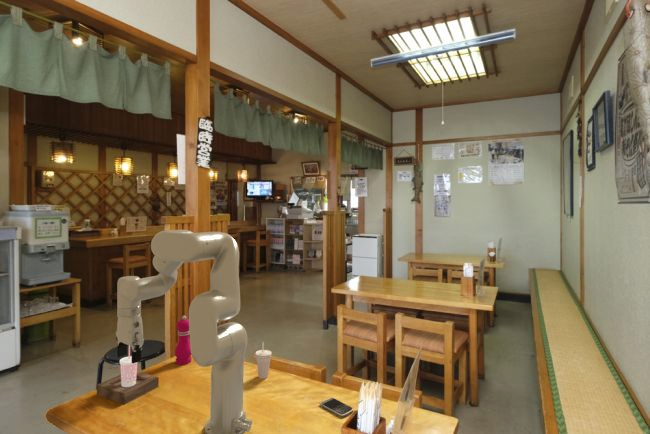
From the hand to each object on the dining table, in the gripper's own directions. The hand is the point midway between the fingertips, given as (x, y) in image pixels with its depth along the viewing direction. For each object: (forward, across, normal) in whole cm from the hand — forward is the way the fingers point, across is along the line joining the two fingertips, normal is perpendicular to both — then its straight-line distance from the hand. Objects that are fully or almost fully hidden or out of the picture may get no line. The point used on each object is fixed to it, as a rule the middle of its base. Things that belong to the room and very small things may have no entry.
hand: (129, 358), depth 136 cm
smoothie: (+12, -30, -38) cm, 49 cm away
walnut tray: (+12, 0, 0) cm, 12 cm away
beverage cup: (+9, 0, 0) cm, 9 cm away
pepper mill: (+12, +7, -27) cm, 31 cm away
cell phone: (+13, -66, -36) cm, 76 cm away
